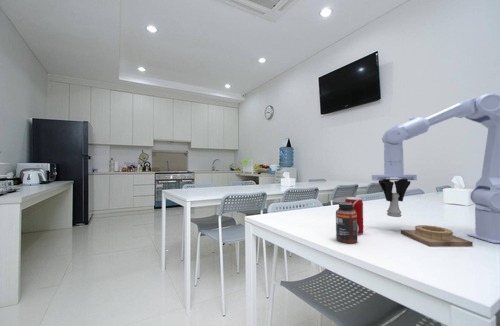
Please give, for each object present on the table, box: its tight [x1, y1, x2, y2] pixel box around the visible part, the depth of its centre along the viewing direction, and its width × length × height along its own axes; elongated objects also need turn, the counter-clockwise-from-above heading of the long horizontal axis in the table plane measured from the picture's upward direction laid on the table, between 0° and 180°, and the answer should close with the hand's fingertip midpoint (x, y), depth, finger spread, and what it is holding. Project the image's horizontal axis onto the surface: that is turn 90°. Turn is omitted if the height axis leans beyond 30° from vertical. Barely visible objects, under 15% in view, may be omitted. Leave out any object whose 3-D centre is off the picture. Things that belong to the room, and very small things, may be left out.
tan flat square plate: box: [400, 224, 473, 247], centre depth 68 cm, size 12×12×3 cm
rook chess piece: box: [386, 192, 402, 218], centre depth 78 cm, size 4×4×8 cm
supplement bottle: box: [335, 201, 358, 244], centre depth 67 cm, size 6×6×11 cm
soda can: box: [344, 196, 364, 236], centre depth 75 cm, size 6×6×12 cm
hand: (394, 201), depth 77 cm, fingers closed on rook chess piece, 3 cm apart
